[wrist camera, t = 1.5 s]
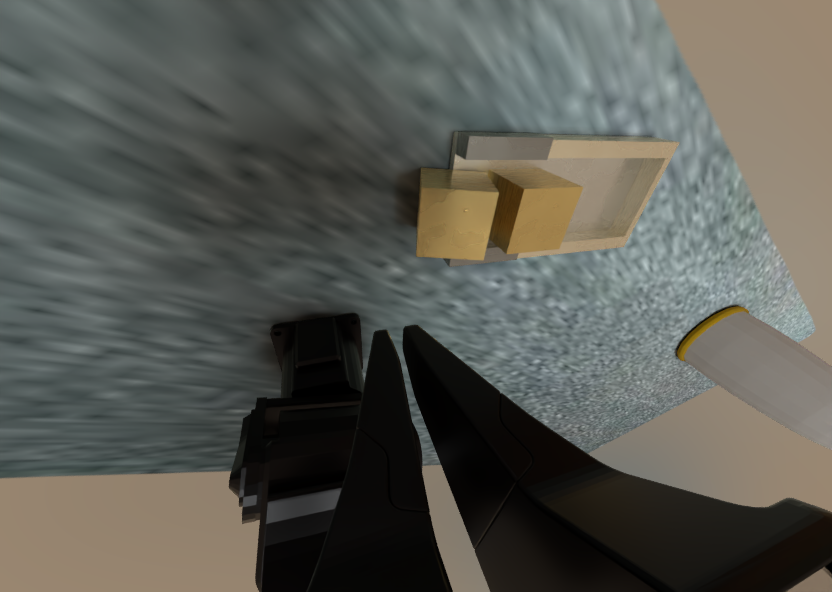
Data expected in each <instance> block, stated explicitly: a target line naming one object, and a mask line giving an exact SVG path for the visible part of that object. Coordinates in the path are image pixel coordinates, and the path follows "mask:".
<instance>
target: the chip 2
mask: <svg viewBox="0 0 832 592" xmlns="http://www.w3.org/2000/svg"><path fill="white" fill-rule="evenodd" d="M488 177H489V179H490V180H491V181H492V183H493V184H494V186H495V187H496V189H497V190H498V192H499V195H498V200H497V204H496V208H495V213H494V217H493V221H492V226H491V230H490V234H489V239H490V240H491V241H492V242H493V243H494V244H495V245H497V246H498V247H499V248H500V249H501V250H502V251H503V252H504V253H505V254H515V253H525V252H535V251H545V250H554V249H559V248H560V246H561V243H562V241H563V238H564V236H565V233H566V231H567V228H568V225H569V223H570V220H571V218H572V215H573V213H574V210H575V208H576V205H577V203H578V200H579V198H580V195H581V192H582V190H583V187H582V186H580V185H578V184H575V183H573V182H571V181H568V180H566V179H564V178H562V177H559V176H557V175H555V174H552V173H550V172H548V171H545V170H543V169H489V172H488Z"/></svg>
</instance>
